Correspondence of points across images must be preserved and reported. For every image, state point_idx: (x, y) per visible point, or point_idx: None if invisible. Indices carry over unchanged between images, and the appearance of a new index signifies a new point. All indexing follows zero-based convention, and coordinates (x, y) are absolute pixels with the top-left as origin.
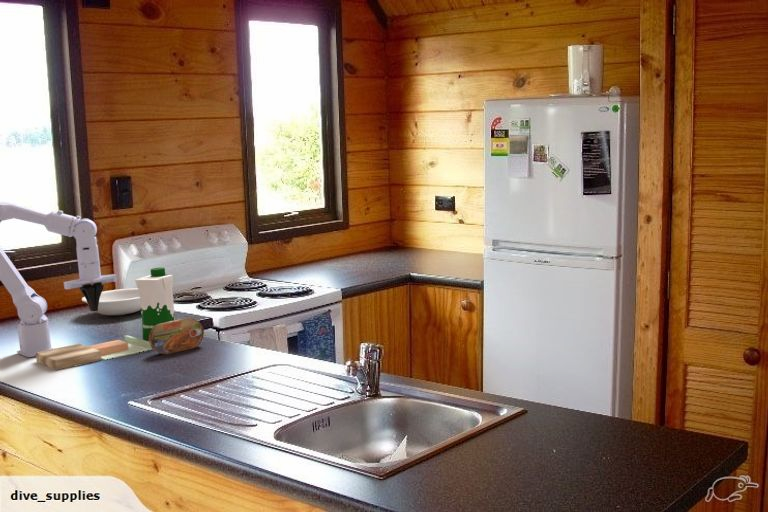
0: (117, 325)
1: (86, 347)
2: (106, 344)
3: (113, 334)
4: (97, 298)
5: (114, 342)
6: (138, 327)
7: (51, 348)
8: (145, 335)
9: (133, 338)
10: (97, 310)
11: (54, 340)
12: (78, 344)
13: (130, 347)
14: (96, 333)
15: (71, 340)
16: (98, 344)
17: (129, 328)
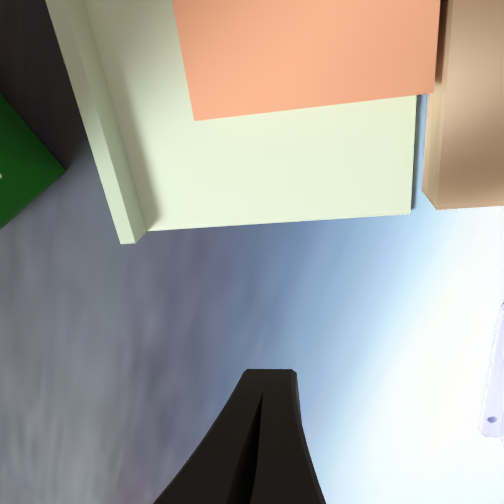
0: (123, 499)
1: (477, 15)
2: (308, 20)
3: (164, 403)
4: (205, 482)
5: (240, 44)
6: (59, 424)
7: (498, 362)
8: (28, 151)
9: (101, 126)
10: (248, 369)
11: (380, 492)
12: (455, 186)
13: (154, 19)
14: None
15: (332, 445)
16: (350, 80)
17: (92, 436)
